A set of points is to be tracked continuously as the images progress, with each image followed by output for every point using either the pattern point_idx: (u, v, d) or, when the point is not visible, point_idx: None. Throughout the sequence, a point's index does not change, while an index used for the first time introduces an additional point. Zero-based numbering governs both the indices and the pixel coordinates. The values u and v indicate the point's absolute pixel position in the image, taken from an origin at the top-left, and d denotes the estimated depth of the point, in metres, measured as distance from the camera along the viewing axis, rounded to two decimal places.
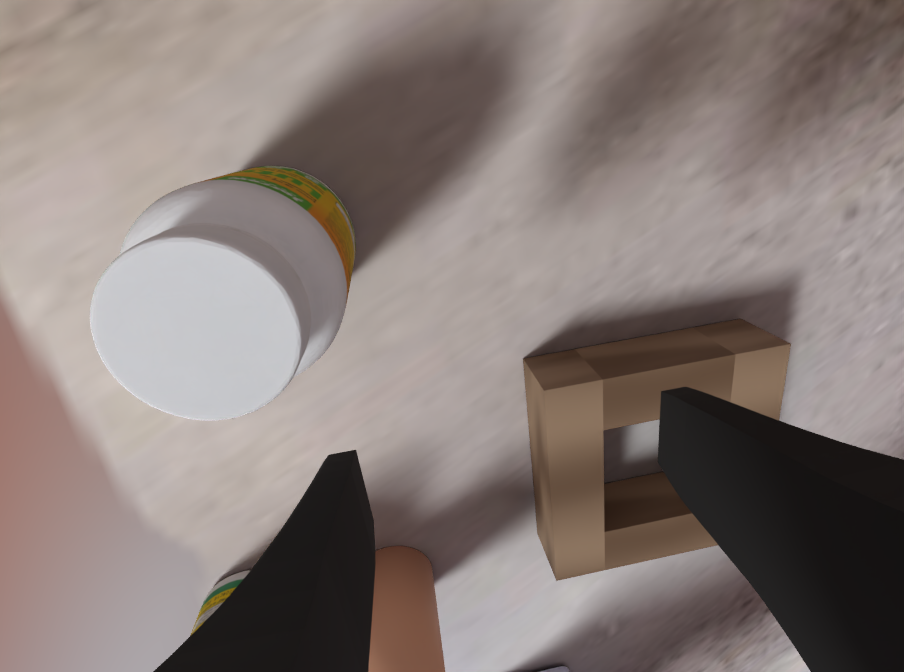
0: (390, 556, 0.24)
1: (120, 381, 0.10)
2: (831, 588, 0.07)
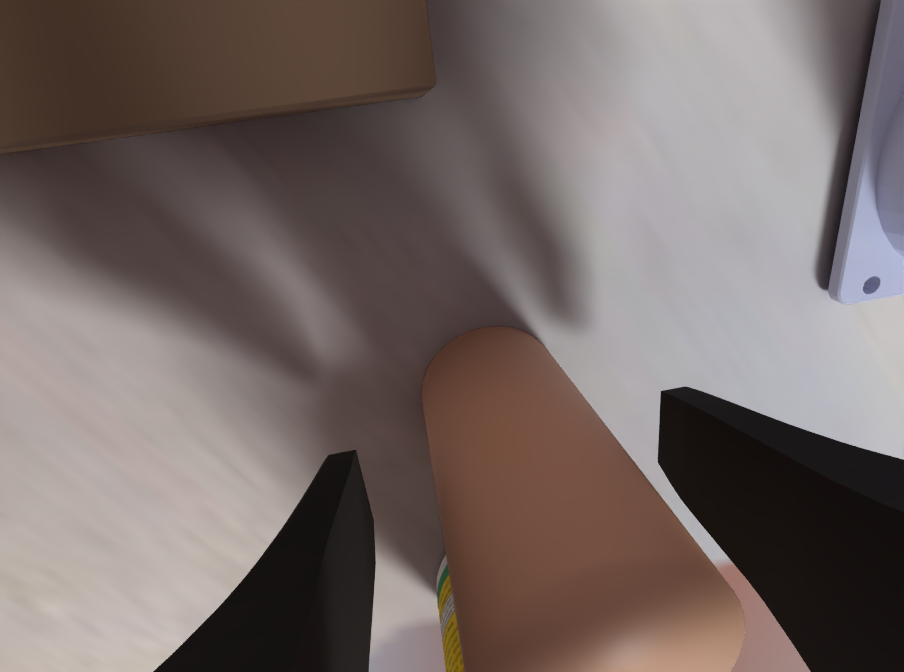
0: (423, 410, 0.13)
1: None
2: (831, 588, 0.07)
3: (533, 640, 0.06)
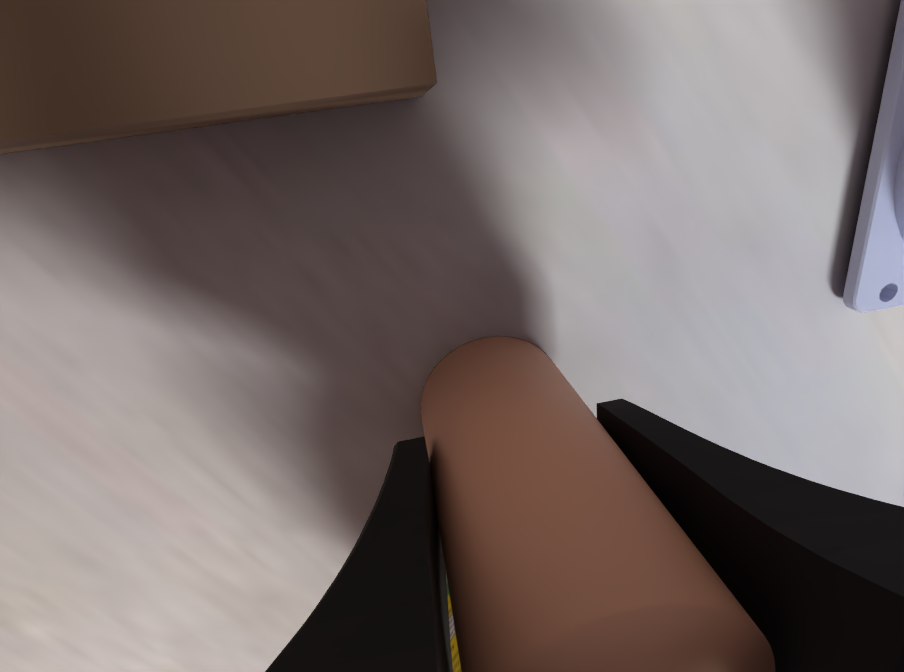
0: None
1: None
2: None
3: None
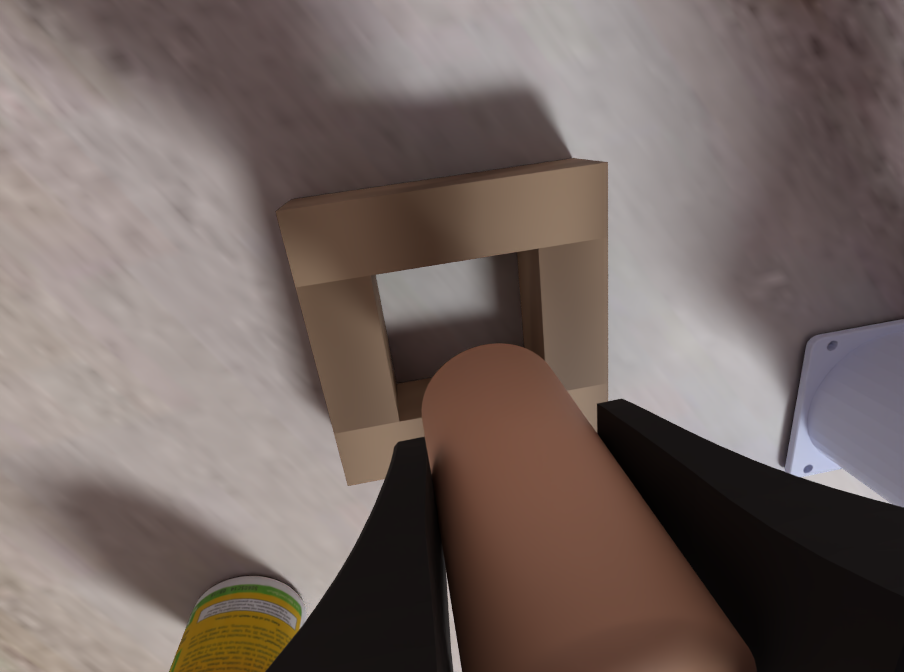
0: None
1: None
2: (737, 610, 0.07)
3: None
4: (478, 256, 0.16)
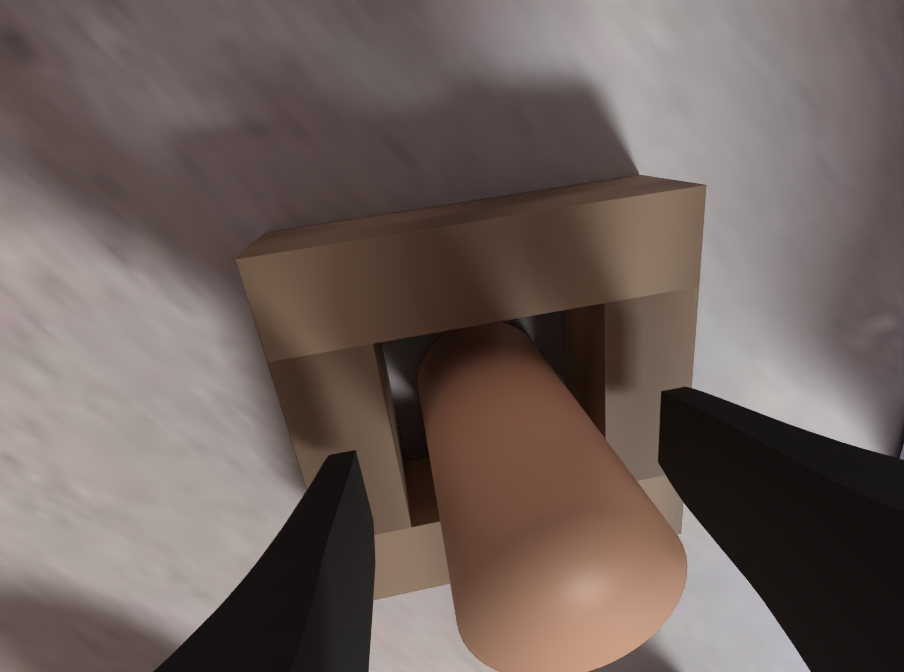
0: None
1: None
2: (831, 588, 0.07)
3: (506, 577, 0.08)
4: (522, 315, 0.12)
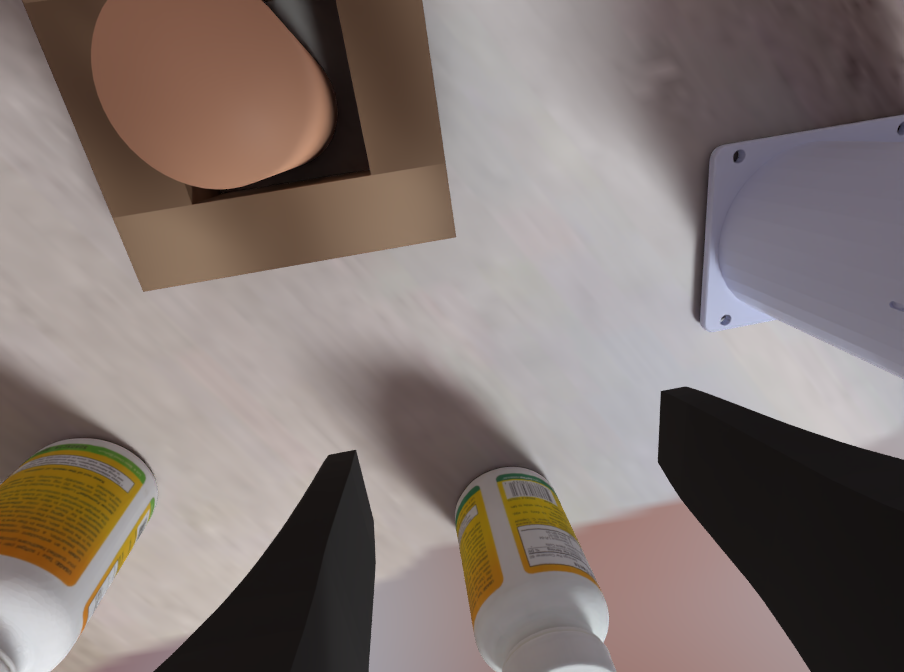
0: None
1: None
2: (831, 588, 0.07)
3: (129, 46, 0.09)
4: None
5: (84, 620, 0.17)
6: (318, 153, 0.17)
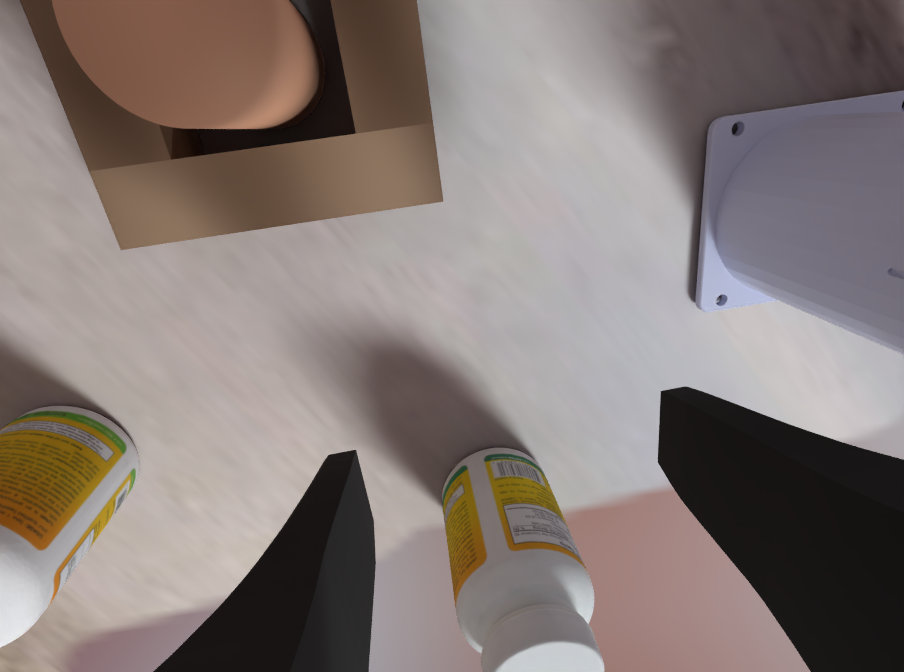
0: None
1: None
2: (831, 588, 0.07)
3: None
4: None
5: (55, 586, 0.16)
6: (303, 113, 0.16)
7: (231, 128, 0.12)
